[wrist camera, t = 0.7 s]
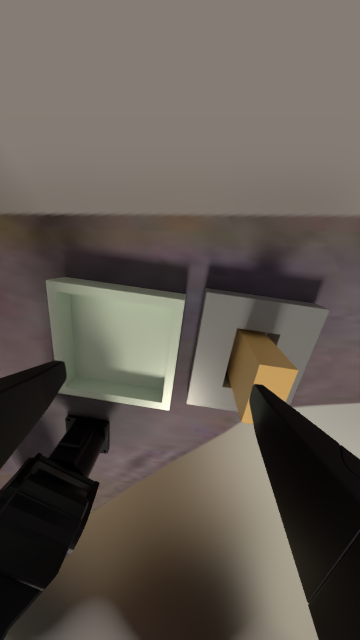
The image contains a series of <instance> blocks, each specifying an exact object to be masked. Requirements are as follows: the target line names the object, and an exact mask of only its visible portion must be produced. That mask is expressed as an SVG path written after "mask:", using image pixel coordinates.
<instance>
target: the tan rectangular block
mask: <svg viewBox="0 0 360 640" xmlns="http://www.w3.org/2000/svg"><path fill="white" fill-rule="evenodd" d="M297 373H298V369H297V368H296V367H295V366H294V365H293V364H292V363H291V361H290V360H289V359H288V358H287V357H286V356H285V355H284V354H283V353H282V351H281V350H280V349H279V348H278V347H277V346H276V345H275V344H274V343H273V341H272V340H271V339H270V338H269V337H268V336H267V335H266V334H265V333H264V332H260V331H253V330H246V329H239V328H237V330H236V334H235V338H234V342H233V346H232V350H231V354H230V358H229V362H228V366H227V374H228V377H229V381H230V384H231V388H232V392H233V395H234V399H235V402H236V406H237V409H238V413H239V416H240V420H241V422H242V423H248V424H253V419H252V414H251V409H250V404H249V398H250V394H251V390H252V386H253V385H254V384H261V385H264V386H265V387H267V388H268V389H269V390H270V391H272V392H273V393H274V394H276V395H277V396H278V397H279V398H281V399H282V400H283V401H285V402H286V400H287V397H288V395H289V393H290V390H291V388H292V385H293V383H294V380H295V378H296V375H297Z"/></svg>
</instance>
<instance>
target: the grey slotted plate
mask: <svg viewBox="0 0 360 640" xmlns="http://www.w3.org/2000/svg"><path fill="white" fill-rule="evenodd" d="M328 313H329V309H327V308H324V307H322V306H319V305H317V304H314V303H308V302H301V301H294V300H287V299H280V298H273V297H266V296H259V295H252V294H245V293H238V292H231V291H224V290H217V289H210V288H205V292H204V298H203V304H202V309H201V315H200V321H199V326H198V332H197V338H196V343H195V349H194V355H193V360H192V366H191V372H190V377H189V383H188V389H187V404H192V405H198V406H205V407H211V408H217V409H224V410H230V411H236V412H238V409H237V406H236V402H235V399H234V395H233V392H232V388H231V384H230V381H229V377H228V375H225V374H226V370H227V366H228V362H229V358H230V354H231V350H232V346H233V342H234V338H235V334H236V330H237V328H239V329H246V330H253V331H260V332H267V333H269V334H268V337H269V338H270V339H271V340H272V341H273V343H274V344H275V345H276V346H277V347H278V348H279V349H280V350H281V351H282V353H283V354H284V355H285V356H286V357H287V358H288V359H289V360H290V361H291V363H292V364H293V365H294V366H295V367H296V368H297V369H298V373H297V375H296V378H295V380H294V383H293V385H292V388H291V390H290V393H289V395H288V397H287V400H286V403H287V404H289V405H290V404H291V401H292V399H293V396H294V394H295V392H296V389H297V387H298V384H299V382H300V380H301V377H302V375H303V372H304V370H305V368H306V365H307V363H308V361H309V358H310V356H311V353H312V351H313V349H314V346H315V344H316V341H317V339H318V337H319V334H320V332H321V330H322V327H323V325H324V322H325V320H326V318H327V315H328Z"/></svg>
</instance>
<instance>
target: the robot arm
mask: <svg viewBox="0 0 360 640" xmlns="http://www.w3.org/2000/svg"><path fill="white" fill-rule="evenodd" d="M66 378H67V373H66V365H65V362H64V361H58V360H54V361H51V362H48V363H45V364H42V365H39V366H36V367H33V368H30V369H27V370H24V371H21V372H18V373H15V374H12V375H9V376H6V377H3V378H0V469H1V468H2V466H3V465H4V464H5V463H6V461H7V460H8V459H9V457H10V456H11V455H12V454H13V452H14V451H15V450H16V449H17V447H18V446H19V445H20V443H21V442H22V441H23V440H24V438H25V437H26V436H27V434H28V433H29V432H30V431H31V429H32V428H33V427H34V426H35V424H36V423H37V422H38V420H39V419H40V418H41V417H42V415H43V414H44V413H45V411H46V410H47V409H48V407H49V406H50V404H51V403H52V401H53V399H54V398H55V396H56V395H57V393H58V392H59V390H60V389H61V387H62V386H63V384H64V382H65V381H66ZM249 404H250V409H251V414H252V419H253V424H254V429H255V434H256V437H257V441H258V445H259V447H260V451H261V454H262V457H263V461H264V464H265V467H266V470H267V474H268V477H269V480H270V483H271V486H272V489H273V493H274V496H275V499H276V503H277V506H278V509H279V512H280V515H281V518H282V522H283V525H284V528H285V532H286V535H287V538H288V541H289V545H290V548H291V551H292V554H293V558H294V560H295V564H296V567H297V570H298V574H299V577H300V580H301V583H302V586H303V590H304V593H305V596H306V599H307V602H308V603H309V604H308V606H309V610H310V613H311V616H312V619H313V622H314V626H315V629H316V632H317V636H318V639H319V640H360V459H359V458H357V457H356V456H355V455H353V454H352V453H351V452H349V451H348V450H347V449H345V448H344V447H343V446H342V445H339V443H338V442H336V441H335V440H334V439H333V438H331V437H330V436H329V435H327V434H326V433H325V432H324V431H322V430H321V429H320V428H318V427H317V426H316V425H314V424H313V423H312V422H311V421H309V420H308V419H306V418H305V417H304V416H303V415H301V414H300V413H299V412H298V411H296V410H295V409H294V408H292V407H291V406H290V405H289V404H287V403H286V402H285V401H283V400H282V399H281V398H279V397H278V396H277V395H276V394H274V393H273V392H272V391H270V390H269V389H268V388H267V387H265V386H264V385H261V384H254V385H253V386H252V390H251V394H250V398H249ZM65 421H66V431H67V432H66V434H65V435H64V436H63V438H62V439H61V441H60V442H59V444H58V445H57V447H56V448H55V449H54V451H53V452H52V454H51V455H50V456H49V458H47V457H44V456H42V454H41V453H38V454H37V455H36V456H35V457H34V458H28V459H27V460H26V462H25V463H24V464H23V465H22V467H21V468H20V469H19V470H18V471H17V473H16V474H15V475H14V476H13V477H12V478H11V479H10V480H9V481H8V482H7V483H6V484H5V485H4V486H3V487H2V489H1V490H0V640H4V638H5V636H6V634H7V632H8V630H9V629H10V628H11V627H12V626H13V624H14V623H15V622H16V621H17V620H18V619H19V618H20V617H21V615H22V614H23V613H24V612H25V611H26V610H27V608H28V607H29V606H30V605H31V604H32V603H33V602H34V601H35V600H36V598H37V597H38V596H39V595H40V593H42V592H43V590H44V589H45V588H46V587H47V586H48V585H49V584H50V583H51V581H52V580H53V579H54V578H55V577H56V575H57V574H58V572H59V569H60V567H61V565H62V563H63V561H64V558H65V557H68V556H69V555H70V554H71V553H72V551H73V549H74V548H75V546H76V544H77V542H78V540H79V538H80V536H81V534H82V532H83V529H84V527H85V525H86V522H87V520H88V517H89V514H90V511H91V508H92V505H93V502H94V499H95V495H96V492H97V489H98V486H99V482H97V481H93V480H91V479H89V478H88V477H89V474H90V472H91V470H92V468H93V466H94V464H95V462H96V460H97V458H98V455H99V453H105V454H106V453H108V451H109V423H108V422H107V421H103V420H97V419H91V418H85V417H79V416H72V415H68V416H67V417H66V418H65Z"/></svg>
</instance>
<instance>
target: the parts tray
mask: <svg viewBox="0 0 360 640" xmlns="http://www.w3.org/2000/svg"><path fill="white" fill-rule="evenodd" d="M46 288H47V297H48V306H49V315H50V324H51V333H52V342H53V351H54V360H58V361H64V362H65V365H66V373H67V378H66V381H65V382H64V384H63V386H62V387H61V389H60V390H59V392H58V393H62V394H68V395H74V396H80V397H87V398H93V399H99V400H106V401H112V402H118V403H125V404H131V405H137V406H144V407H150V408H156V409H163V410H169V409H170V402H171V396H172V389H173V382H174V375H175V368H176V361H177V354H178V347H179V340H180V333H181V326H182V320H183V313H184V306H185V299H186V294H182V293H175V292H168V291H161V290H154V289H147V288H140V287H133V286H126V285H119V284H112V283H105V282H98V281H91V280H84V279H77V278H70V277H61V278H55V279H49V280H46Z"/></svg>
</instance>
